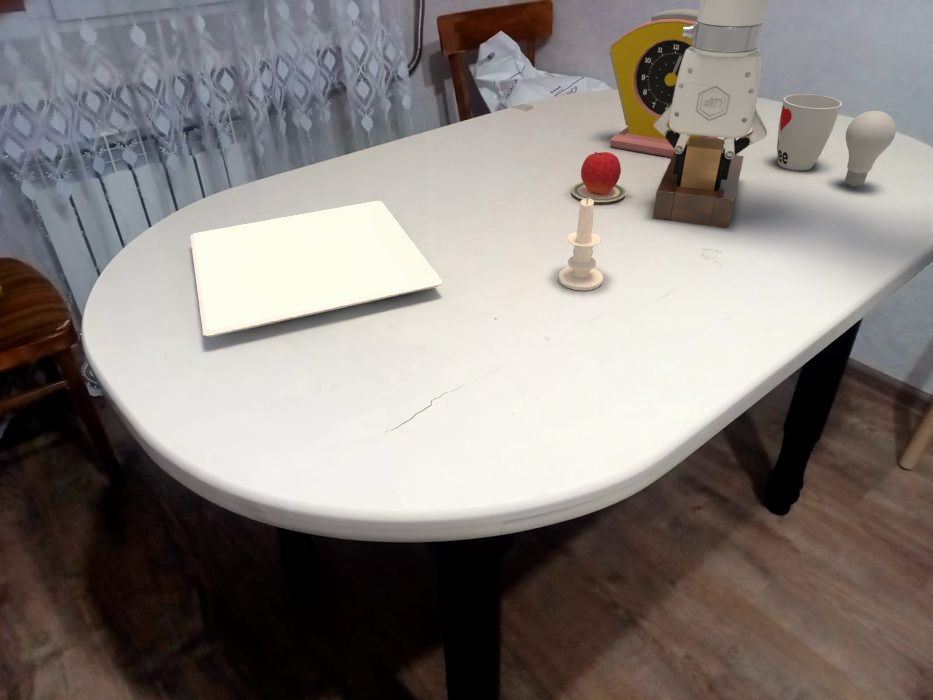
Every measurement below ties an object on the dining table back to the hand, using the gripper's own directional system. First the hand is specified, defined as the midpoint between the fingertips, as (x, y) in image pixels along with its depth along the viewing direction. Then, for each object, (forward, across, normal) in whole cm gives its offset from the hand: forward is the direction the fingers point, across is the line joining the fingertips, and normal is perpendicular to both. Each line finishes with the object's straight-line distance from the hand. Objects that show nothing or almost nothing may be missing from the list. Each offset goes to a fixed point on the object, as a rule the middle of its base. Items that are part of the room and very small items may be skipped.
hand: (699, 180), depth 91 cm
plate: (+5, -42, -34) cm, 54 cm away
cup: (+4, +13, +23) cm, 27 cm away
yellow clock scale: (+4, -8, +25) cm, 26 cm away
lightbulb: (+4, +21, +16) cm, 27 cm away
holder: (+4, 0, +4) cm, 6 cm away
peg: (+3, 0, 0) cm, 3 cm away
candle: (+4, -10, -25) cm, 27 cm away
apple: (+4, -14, +1) cm, 15 cm away
